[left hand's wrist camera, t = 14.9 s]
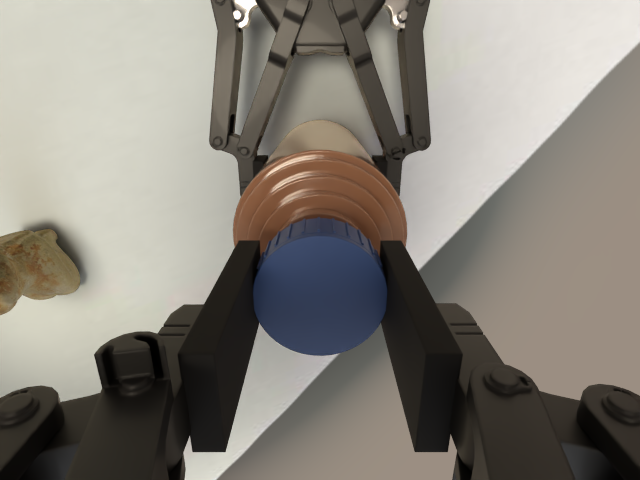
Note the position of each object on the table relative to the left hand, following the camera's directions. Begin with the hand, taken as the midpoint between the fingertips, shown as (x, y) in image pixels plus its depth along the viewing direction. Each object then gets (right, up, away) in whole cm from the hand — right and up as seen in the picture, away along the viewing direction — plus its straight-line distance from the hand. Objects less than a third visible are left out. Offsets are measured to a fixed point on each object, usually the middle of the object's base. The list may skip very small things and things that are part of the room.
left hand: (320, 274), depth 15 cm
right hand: (0, +1, +17) cm, 17 cm away
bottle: (0, +8, +21) cm, 22 cm away
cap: (0, -1, -1) cm, 2 cm away
